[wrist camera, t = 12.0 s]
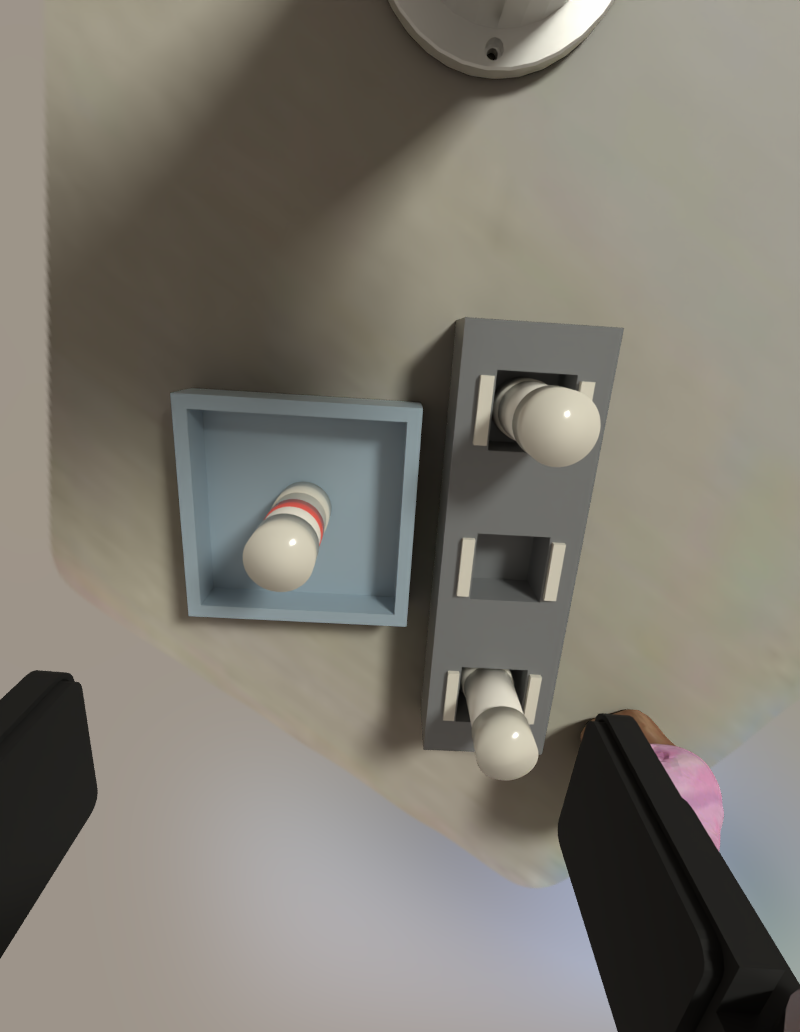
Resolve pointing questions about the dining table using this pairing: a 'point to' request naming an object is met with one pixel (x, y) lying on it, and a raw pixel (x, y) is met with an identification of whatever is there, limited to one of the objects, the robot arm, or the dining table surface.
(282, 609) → the tray
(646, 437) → the dining table surface
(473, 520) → the fuse holder
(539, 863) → the dining table surface
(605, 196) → the dining table surface
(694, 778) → the cupcake
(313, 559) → the cylinder
